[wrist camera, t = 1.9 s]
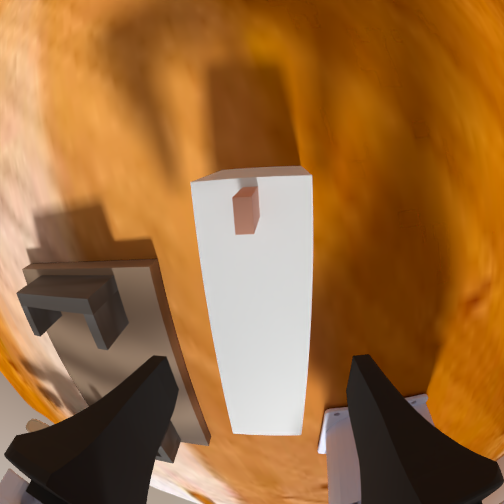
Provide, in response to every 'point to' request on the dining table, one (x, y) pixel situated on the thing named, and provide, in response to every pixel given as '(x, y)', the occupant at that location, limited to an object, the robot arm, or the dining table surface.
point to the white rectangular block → (258, 290)
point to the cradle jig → (112, 332)
